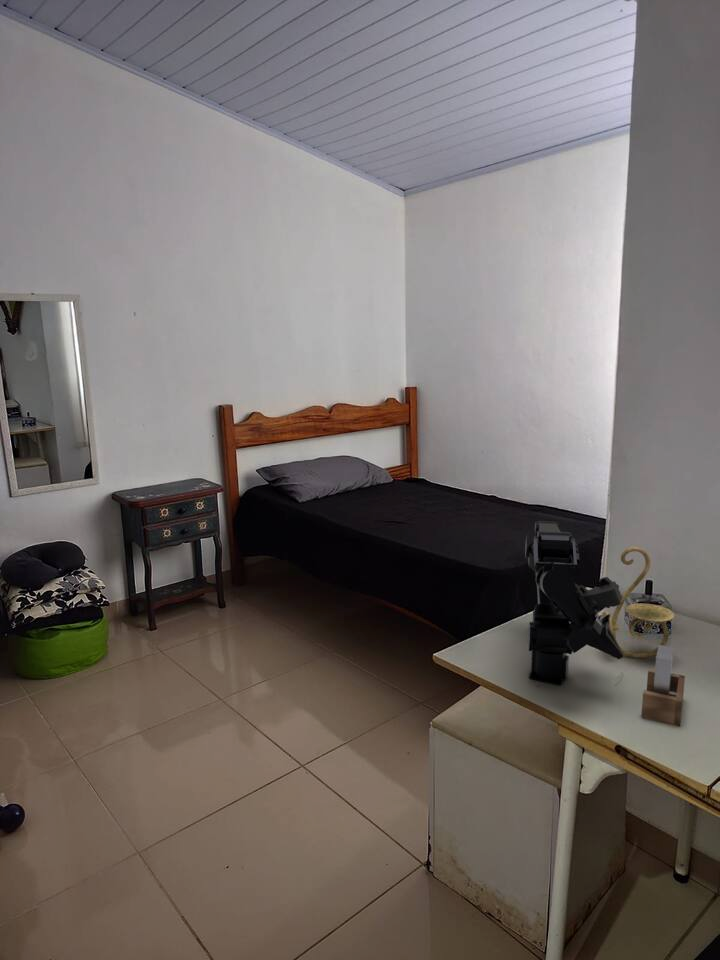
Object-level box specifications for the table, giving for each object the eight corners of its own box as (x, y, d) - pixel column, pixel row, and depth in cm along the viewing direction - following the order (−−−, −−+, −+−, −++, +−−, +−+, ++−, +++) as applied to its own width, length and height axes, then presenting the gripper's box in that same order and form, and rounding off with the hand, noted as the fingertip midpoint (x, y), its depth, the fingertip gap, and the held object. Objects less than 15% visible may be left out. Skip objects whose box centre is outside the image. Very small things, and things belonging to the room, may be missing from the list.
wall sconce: (610, 667, 135) (617, 553, 130) (596, 647, 144) (602, 540, 140) (678, 668, 134) (687, 554, 130) (660, 648, 143) (668, 540, 139)
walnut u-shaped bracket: (641, 718, 116) (643, 693, 115) (646, 692, 125) (648, 668, 124) (680, 727, 113) (682, 701, 112) (682, 700, 122) (685, 675, 121)
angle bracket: (644, 712, 118) (648, 656, 116) (647, 697, 123) (651, 643, 121) (674, 719, 115) (679, 662, 113) (676, 703, 120) (681, 648, 118)
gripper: (588, 583, 113) (653, 654, 109) (603, 555, 129) (659, 616, 126) (541, 618, 118) (601, 687, 114) (561, 587, 134) (614, 646, 131)
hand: (621, 657), depth 121 cm, fingers closed
